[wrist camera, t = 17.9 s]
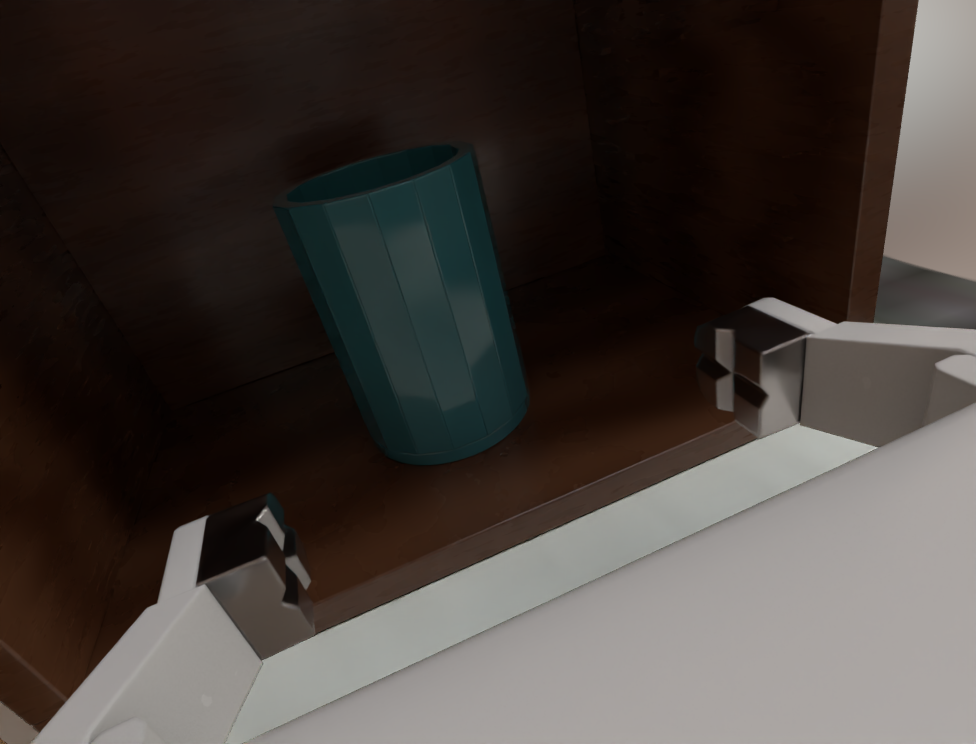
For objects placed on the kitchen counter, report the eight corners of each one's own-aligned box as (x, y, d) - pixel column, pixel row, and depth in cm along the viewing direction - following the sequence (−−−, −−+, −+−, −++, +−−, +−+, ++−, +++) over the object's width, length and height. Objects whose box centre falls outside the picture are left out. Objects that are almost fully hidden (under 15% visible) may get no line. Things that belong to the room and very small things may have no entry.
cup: (557, 422, 21) (501, 152, 16) (387, 491, 20) (271, 223, 15) (497, 351, 27) (442, 134, 22) (363, 402, 26) (272, 186, 21)
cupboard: (864, 391, 21) (1052, -941, 8) (57, 749, 16) (-2278, -1120, 4) (615, 262, 36) (551, -280, 24) (163, 425, 31) (-215, -146, 19)
